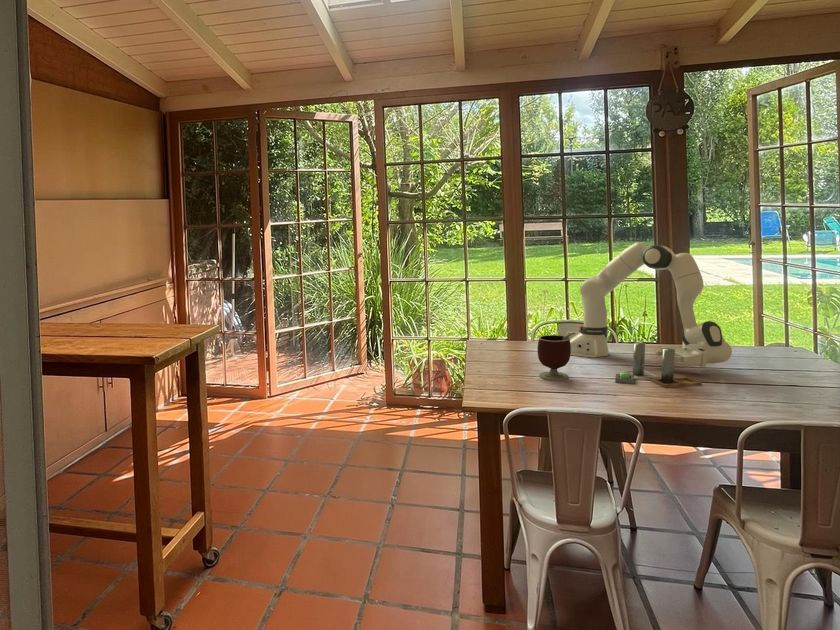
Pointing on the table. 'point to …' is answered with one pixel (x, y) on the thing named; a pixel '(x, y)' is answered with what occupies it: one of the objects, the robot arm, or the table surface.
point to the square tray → (642, 377)
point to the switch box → (624, 379)
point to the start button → (624, 375)
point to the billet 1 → (638, 359)
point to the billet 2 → (667, 365)
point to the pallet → (677, 382)
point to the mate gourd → (554, 355)
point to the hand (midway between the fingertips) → (663, 356)
